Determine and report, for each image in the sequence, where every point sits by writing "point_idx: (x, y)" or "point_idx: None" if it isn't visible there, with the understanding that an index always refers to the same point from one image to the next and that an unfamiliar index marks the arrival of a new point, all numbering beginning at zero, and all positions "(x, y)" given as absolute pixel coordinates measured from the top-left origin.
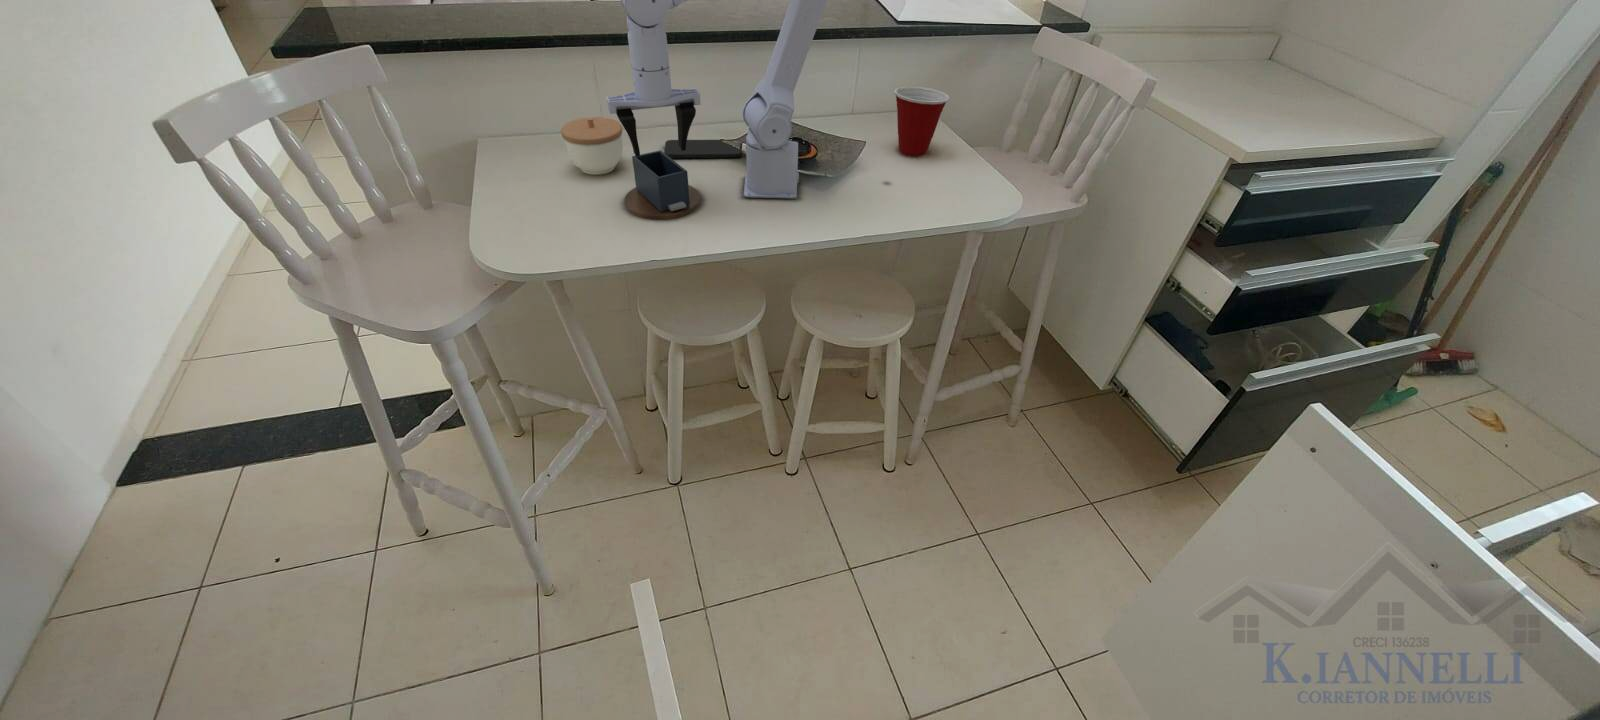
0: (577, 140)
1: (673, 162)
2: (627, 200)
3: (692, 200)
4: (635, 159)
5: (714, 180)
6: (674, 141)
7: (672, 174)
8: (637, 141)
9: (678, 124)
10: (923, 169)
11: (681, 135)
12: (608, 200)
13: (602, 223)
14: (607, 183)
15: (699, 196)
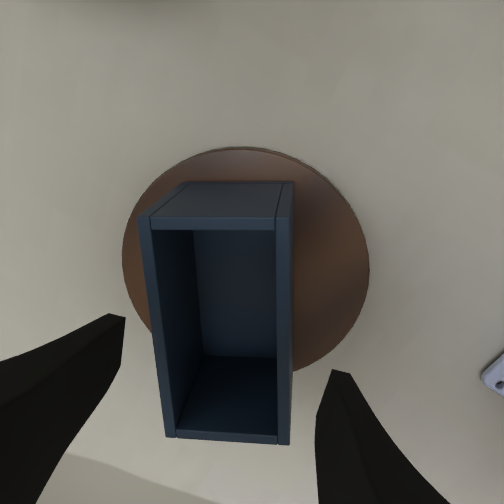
0: None
1: (279, 360)
2: (132, 237)
3: (315, 337)
4: (141, 253)
5: (485, 218)
6: None
7: (226, 440)
8: (75, 434)
9: (347, 469)
10: None
11: (321, 486)
12: (88, 171)
13: (44, 293)
14: (116, 32)
15: (349, 328)
